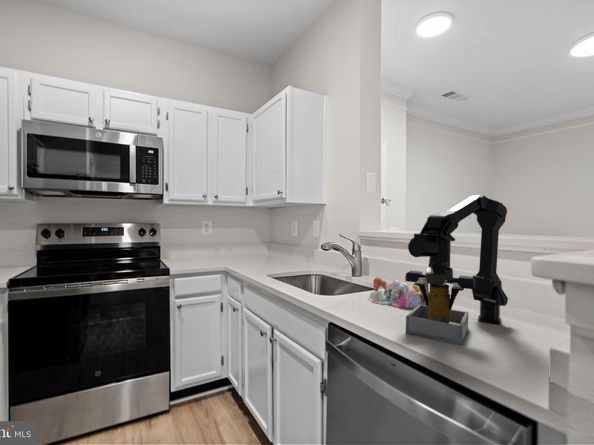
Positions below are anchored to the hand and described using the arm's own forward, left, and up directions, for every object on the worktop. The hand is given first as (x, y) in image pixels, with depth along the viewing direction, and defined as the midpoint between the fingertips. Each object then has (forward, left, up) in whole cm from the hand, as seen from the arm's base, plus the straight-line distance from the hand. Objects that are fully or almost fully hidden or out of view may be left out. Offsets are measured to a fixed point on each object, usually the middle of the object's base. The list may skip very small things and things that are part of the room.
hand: (438, 307), depth 94 cm
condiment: (0, +1, -5) cm, 5 cm away
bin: (0, 0, -7) cm, 7 cm away
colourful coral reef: (-29, -20, -8) cm, 36 cm away
